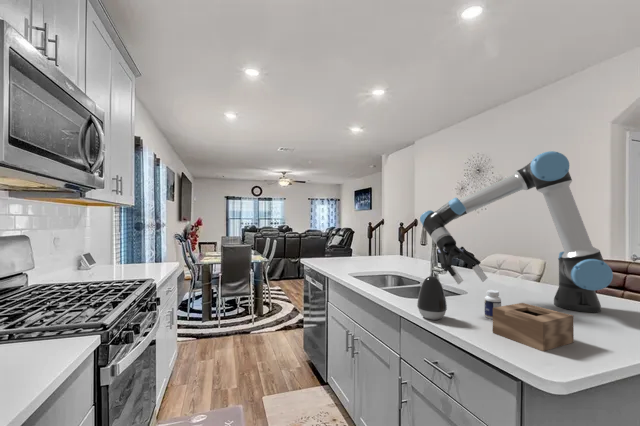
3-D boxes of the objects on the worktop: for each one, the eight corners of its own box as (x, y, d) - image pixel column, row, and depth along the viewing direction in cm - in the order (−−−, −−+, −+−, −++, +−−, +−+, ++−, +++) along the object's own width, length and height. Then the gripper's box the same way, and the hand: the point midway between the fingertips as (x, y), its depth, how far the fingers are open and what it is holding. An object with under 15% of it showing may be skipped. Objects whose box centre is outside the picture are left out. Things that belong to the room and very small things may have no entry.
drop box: (522, 326, 106) (522, 302, 106) (573, 342, 92) (573, 315, 92) (492, 332, 99) (492, 307, 99) (543, 351, 86) (542, 322, 86)
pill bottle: (481, 315, 117) (481, 289, 117) (494, 315, 118) (494, 289, 118) (490, 320, 112) (490, 292, 112) (504, 319, 112) (504, 292, 113)
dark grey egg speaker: (445, 314, 117) (446, 274, 118) (447, 323, 108) (447, 279, 108) (417, 312, 121) (417, 272, 121) (416, 320, 111) (417, 277, 111)
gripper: (459, 244, 143) (488, 283, 130) (417, 246, 133) (444, 289, 119) (469, 234, 139) (500, 273, 125) (426, 234, 128) (455, 277, 114)
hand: (473, 281), depth 122 cm, fingers open, 13 cm apart
